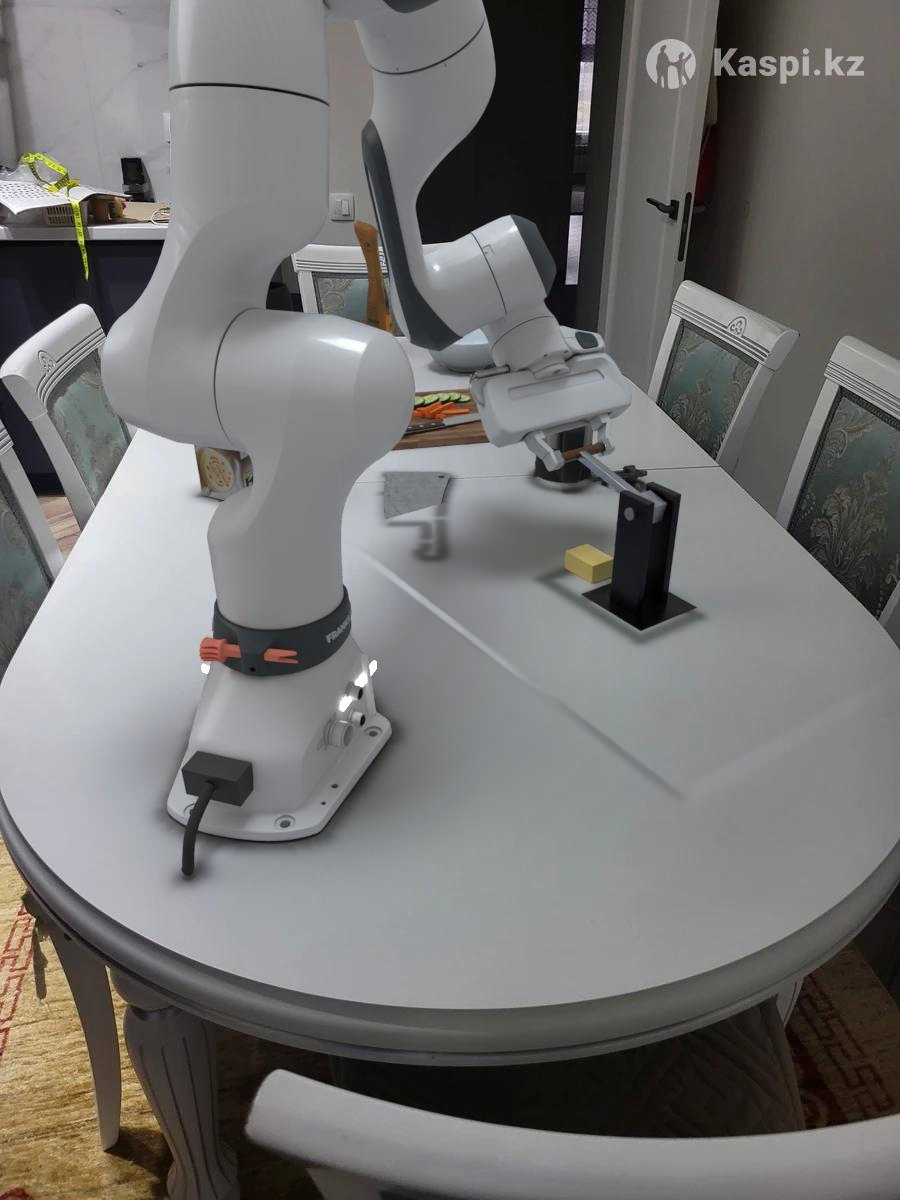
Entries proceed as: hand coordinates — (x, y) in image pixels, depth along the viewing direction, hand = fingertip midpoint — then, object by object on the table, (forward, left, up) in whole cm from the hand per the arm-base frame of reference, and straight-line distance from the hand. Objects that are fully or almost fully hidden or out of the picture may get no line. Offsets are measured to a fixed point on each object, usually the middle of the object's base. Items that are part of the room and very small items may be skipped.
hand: (583, 460), depth 105 cm
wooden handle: (+99, +52, -15) cm, 113 cm away
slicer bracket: (-8, -8, -15) cm, 19 cm away
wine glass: (+69, +66, -15) cm, 97 cm away
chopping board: (+54, +30, -15) cm, 64 cm away
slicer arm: (-4, -4, -2) cm, 6 cm away
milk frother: (+30, 0, -15) cm, 34 cm away
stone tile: (+14, +24, -15) cm, 32 cm away
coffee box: (+16, +52, -15) cm, 57 cm away
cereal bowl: (+90, +30, -15) cm, 96 cm away
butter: (-2, -2, -14) cm, 14 cm away
